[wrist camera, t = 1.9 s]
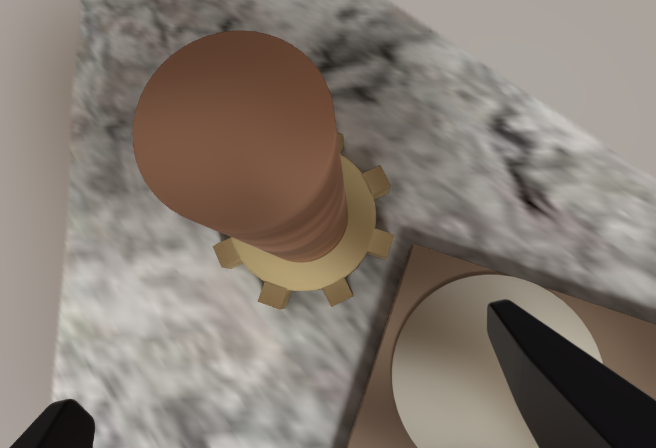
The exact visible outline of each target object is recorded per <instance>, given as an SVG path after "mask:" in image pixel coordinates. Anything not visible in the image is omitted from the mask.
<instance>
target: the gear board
mask: <svg viewBox="0 0 656 448" xmlns="http://www.w3.org/2000/svg"><path fill="white" fill-rule="evenodd" d="M502 299H508V300H511V301H512V302H514V303H515V304H517V305H518V306H520V307H521V308H522V309H524V310H525V311H527V312H528V313H530V314H531V315H533V316H534V317H536V318H537V319H538V320H540V321H541V322H543V323H544V324H546V325H547V326H549V327H550V328H552V329H553V330H554V331H556V332H557V333H559V334H560V335H562V336H563V337H565V338H566V339H567V340H569V341H570V342H572V343H573V344H575V345H576V346H578V347H579V348H581V349H582V350H583V351H585V352H586V353H588V354H589V355H591V356H592V357H594V358H595V359H597V360H598V361H599V362H601V363H602V364H604V365H605V366H607V367H608V368H610V369H611V370H613V371H614V372H615V373H617V374H618V375H620V376H621V377H623V378H624V379H626V380H627V381H629V382H630V383H631V384H633V385H634V386H636V387H637V388H639V389H640V390H642V391H643V392H645V393H646V394H647V395H649V396H650V397H652V398H653V399H655V400H656V324H653V323H650V322H647V321H644V320H641V319H638V318H635V317H632V316H629V315H626V314H623V313H620V312H617V311H614V310H611V309H608V308H605V307H602V306H599V305H596V304H593V303H590V302H587V301H584V300H581V299H578V298H575V297H572V296H569V295H566V294H563V293H560V292H557V291H554V290H551V289H548V288H545V287H542V286H539V285H537V284H534V283H531V282H529V281H526V280H523V279H519V278H516V277H513V276H510V275H507V274H504V273H501V272H498V271H495V270H492V269H489V268H486V267H483V266H480V265H477V264H474V263H471V262H468V261H465V260H462V259H459V258H456V257H453V256H450V255H447V254H444V253H441V252H438V251H435V250H432V249H429V248H426V247H423V246H420V245H417V244H413V245H412V246H411V249H410V252H409V255H408V258H407V261H406V264H405V267H404V270H403V273H402V276H401V279H400V282H399V286H398V289H397V292H396V295H395V298H394V301H393V304H392V307H391V310H390V313H389V316H388V319H387V322H386V325H385V328H384V331H383V335H382V338H381V341H380V344H379V347H378V350H377V353H376V356H375V359H374V362H373V365H372V368H371V371H370V374H369V377H368V381H367V384H366V387H365V390H364V393H363V396H362V399H361V402H360V405H359V408H358V411H357V414H356V417H355V420H354V423H353V427H352V430H351V433H350V436H349V439H348V442H347V445H346V448H539V447H538V445H537V443H536V441H535V439H534V438H533V436H532V434H531V432H530V430H529V428H528V426H527V425H526V423H525V421H524V419H523V417H522V415H521V413H520V411H519V409H518V407H517V405H516V403H515V400H514V398H513V396H512V393H511V391H510V388H509V386H508V383H507V381H506V378H505V376H504V374H503V371H502V369H501V366H500V364H499V361H498V359H497V356H496V354H495V352H494V349H493V347H492V344H491V342H490V339H489V336H488V333H487V306H488V304H489V303H490V302H494V301H498V300H502Z"/></svg>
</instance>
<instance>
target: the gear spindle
mask: <svg viewBox="0 0 656 448" xmlns="http://www.w3.org/2000/svg"><path fill="white" fill-rule="evenodd" d="M343 146H344V139H343V134H340V133H337V128H336V121H335V114H334V106H333V101H332V98H331V94H330V91H329V89H328V86H327V84H326V82H325V80H324V78H323V76H322V75H321V73H320V71H319V70H318V69H317V67H316V66H315V65H314V64H313V62H312V61H311V60H310V59H309V58H308V57H307V56H306V55H305V54H303V53H302V52H301V51H300V50H298V49H297V48H296V47H294V46H293V45H291V44H289V43H287V42H285V41H284V40H282V39H279V38H277V37H274V36H271V35H268V34H264V33H259V32H253V31H228V32H221V33H216V34H213V35H209V36H206V37H203V38H201V39H198V40H196V41H193V42H192V43H190V44H188V45H186V46H184V47H183V48H181V49H180V50H178V51H177V52H176V53H174V54H173V55H171V56H170V57H169V58H168V59H167V60H166V61H165V62H164V63H163V64H162V65H161V66H160V67H159V68H158V69H157V71H156V72H155V73H154V74H153V76H152V77H151V79H150V80H149V82H148V83H147V85H146V87H145V89H144V91H143V93H142V95H141V97H140V99H139V102H138V105H137V108H136V112H135V117H134V123H133V148H134V153H135V158H136V161H137V164H138V167H139V170H140V172H141V174H142V176H143V178H144V180H145V182H146V183H147V185H148V186H149V188H150V189H151V191H152V192H153V193H154V194H155V195H156V196H157V198H158V199H159V200H160V201H161V202H162V203H164V204H165V205H166V206H167V207H169V208H170V209H171V210H173V211H174V212H176V213H178V214H179V215H181V216H183V217H185V218H188V219H190V220H192V221H195V222H197V223H199V224H202V225H204V226H206V227H209V228H211V229H213V230H216V231H218V232H221V233H223V234H225V235H228V236H230V238H228V239H226V240H224V241H222V242H220V243H218V244H216V245H214V246H213V248H214V250H215V253H216V255H217V257H218V260H219V262H220V264H221V267H224V268H229V269H232V268H234V267H236V266H238V265H240V264H242V263H244V265H245V266H246V267H247V268H248V269H249V270H250V271H251V272H252V273H253V274H254V275H256V276H257V277H258V278H260V279H261V280H263V281H265V283H264V285H263V288H262V291H261V294H260V296H259V299H258V302H261V303H263V304H266V305H269V306H272V307H274V308H277V309H284V308H286V305H287V303H288V300H289V297H290V294H291V291H312V290H319V289H323V291H324V293H325V295H326V297H327V299H328V301H329V303H330V305H331V307H332V306H334V305H336V304H338V303H340V302H342V301H344V300H346V299H348V298H350V297H353V294H352V292H351V290H350V288H349V286H348V284H347V281H346V279H345V278H346V277H347V276H349V275H350V274H351V273H352V272H353V271H354V270H355V269H356V268H357V267H358V266H359V265H360V263H361V262H362V261H363V259H364V257H365V256H366V254H370V255H372V256H375V257H378V258H381V259H384V260H385V259H386V258H387V256H388V253H389V250H390V247H391V244H392V241H393V238H394V234H391V233H388V232H385V231H382V230H379V229H376V228H375V224H376V208H375V201H374V199H376V198H378V197H380V196H382V195H385V194H387V193H389V189H390V186H391V185H390V183H389V181H388V179H387V177H386V175H385V173H384V171H383V170H382V168H381V166H380V165H379V166H377V167H375V168H373V169H371V170H369V171H367V172H365V173H363V174H362V173H361V172H360V170H359V169H358V168H357V167H356V166H355V165H354V164H353V163H352V162H351V161H349V160H348V159H347V158H345V157H344V156H342V155H341V152H342V149H343Z"/></svg>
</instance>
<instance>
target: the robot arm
mask: <svg viewBox="0 0 656 448" xmlns="http://www.w3.org/2000/svg"><path fill="white" fill-rule="evenodd" d="M487 333H488V336H489V339H490V342H491V344H492V347H493V349H494V352H495V354H496V356H497V359H498V361H499V364H500V366H501V369H502V371H503V374H504V376H505V378H506V381H507V383H508V386H509V388H510V391H511V393H512V396H513V398H514V400H515V403H516V405H517V407H518V409H519V411H520V413H521V415H522V417H523V419H524V421H525V423H526V425H527V426H528V428H529V430H530V432H531V434H532V436H533V438H534V439H535V441H536V443H537V445H538V447H539V448H656V400H655V399H653V398H652V397H650V396H649V395H647V394H646V393H645V392H643V391H642V390H640V389H639V388H637V387H636V386H634V385H633V384H631V383H630V382H629V381H627V380H626V379H624V378H623V377H621V376H620V375H618V374H617V373H615V372H614V371H613V370H611V369H610V368H608V367H607V366H605V365H604V364H602V363H601V362H599V361H598V360H597V359H595V358H594V357H592V356H591V355H589V354H588V353H586V352H585V351H583V350H582V349H581V348H579V347H578V346H576V345H575V344H573V343H572V342H570V341H569V340H567V339H566V338H565V337H563V336H562V335H560V334H559V333H557V332H556V331H554V330H553V329H552V328H550V327H549V326H547V325H546V324H544V323H543V322H541V321H540V320H538V319H537V318H536V317H534V316H533V315H531V314H530V313H528V312H527V311H525V310H524V309H522V308H521V307H520V306H518V305H517V304H515V303H514V302H512V301H511V300H508V299H502V300H498V301H494V302H490V303H489V304H488V306H487ZM94 433H95V422H94V419H93V417H92V416H91V415H90V414H89V413H88V412H87V411H86V410H85V409H84V408H83V407H82V406H81V405H80V404H79V403H78V402H77V401H75V400H74V399H66V400H62V401H57V402H54V403H52V404H50V405H49V406H48V407H47V408H46V409H45V410H44V411H43V412H42V414H41V415H40V416H39V417H38V418H37V419H36V420H35V421H34V422H33V423H32V424H31V425H30V427H28V429H27V430H26V431H25V432H24V433H23V434H22V435H21V436H20V437H19V438H18V439H17V440H16V442H14V444H13V445H12V446H11V447H10V448H93V441H94Z"/></svg>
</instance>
